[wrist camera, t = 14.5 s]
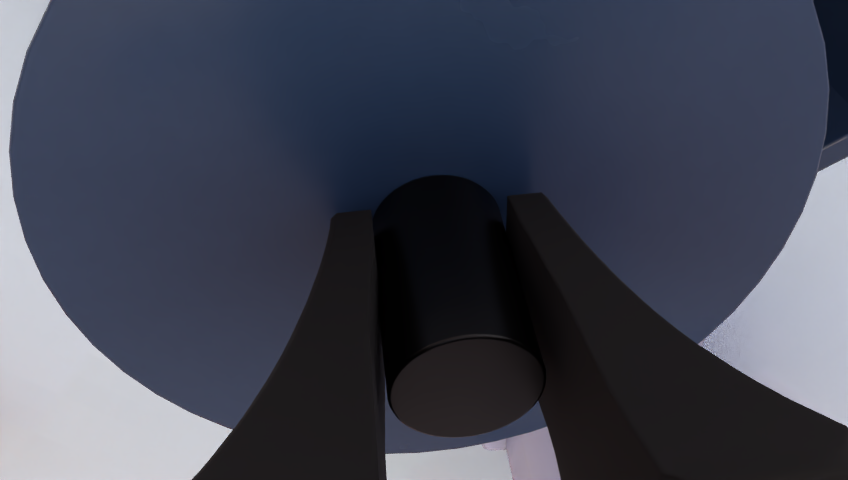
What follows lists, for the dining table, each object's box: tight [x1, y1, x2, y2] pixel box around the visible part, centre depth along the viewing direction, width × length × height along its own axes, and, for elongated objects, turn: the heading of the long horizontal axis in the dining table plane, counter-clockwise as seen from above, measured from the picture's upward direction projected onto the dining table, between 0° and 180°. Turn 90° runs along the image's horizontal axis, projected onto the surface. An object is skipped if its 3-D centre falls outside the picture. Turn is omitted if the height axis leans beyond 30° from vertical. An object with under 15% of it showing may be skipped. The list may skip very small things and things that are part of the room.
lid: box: [9, 0, 829, 454], centre depth 14 cm, size 14×14×5 cm
